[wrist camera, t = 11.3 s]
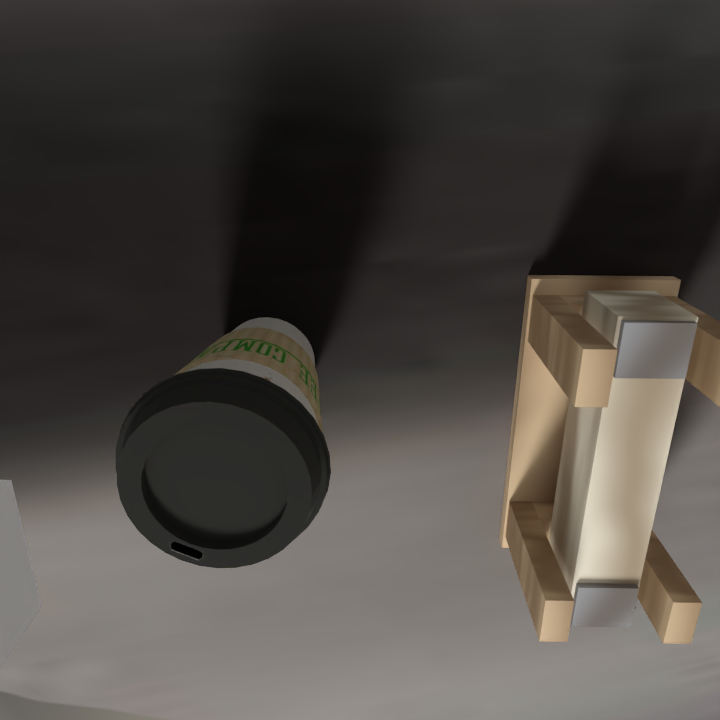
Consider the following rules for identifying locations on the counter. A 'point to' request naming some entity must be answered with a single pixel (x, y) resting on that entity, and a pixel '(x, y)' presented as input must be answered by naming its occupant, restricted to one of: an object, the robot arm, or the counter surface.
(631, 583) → the rail
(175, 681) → the counter surface
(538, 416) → the wooden stand
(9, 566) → the robot arm
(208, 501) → the coffee cup
